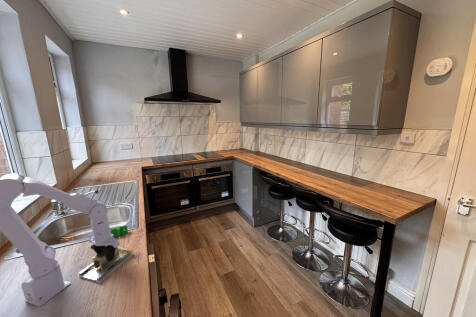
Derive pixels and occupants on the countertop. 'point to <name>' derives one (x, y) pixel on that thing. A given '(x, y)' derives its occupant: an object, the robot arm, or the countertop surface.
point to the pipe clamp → (119, 230)
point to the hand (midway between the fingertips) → (107, 258)
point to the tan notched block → (104, 259)
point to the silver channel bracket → (99, 274)
